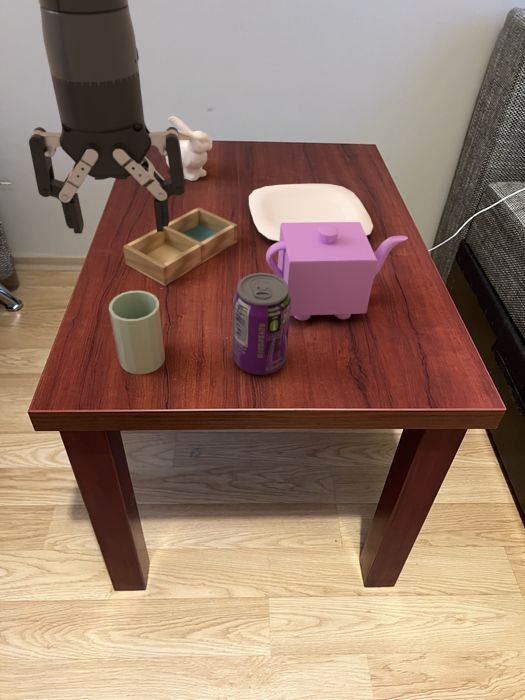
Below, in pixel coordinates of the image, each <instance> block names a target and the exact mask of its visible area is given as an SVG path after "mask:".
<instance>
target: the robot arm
mask: <svg viewBox="0 0 525 700" xmlns="http://www.w3.org/2000/svg"><path fill="white" fill-rule="evenodd" d="M38 4H39V11H40V18H41V31H42V39H43V44H44V49H45V52H46V53H45V55H46V59H47V62H48V68H49V72H50V77H51V82H52V86H53V91H54V95H55V100H56V101H55V102H56V105H57V110H58V115H59V119H60V124H61V132H47V130H46V129H45V128H43V127H42V126H38V127H36V128H34V130H33V132H32V134H31V136H30V137H29V140H28V146H29V151H30V156H31V161H32V167H33V170H34V176H35V182H36V187H37V192H38V194H39V195H40V196H41V197H43V198H49V197H52V198H56V199H58V201H60V204H61V207H62V211H63V216H64V220H65V224H66V226H67V227H68V229H73V233H74V234H75V235H76V234H77V235H78V234H79V235H80V234H83V232H84V228H85V223H84V218H83V217H84V216H83V212H82V209H81V203H80V198H79V194H78V193H79V192H77V191H78V189H79V188H81V186H82V184H83V182H84V181H85V179H86V178H87V177H88V176H89V177H91V178H94V180H95V181H102V180H107V179H110V178H111V179H116V180H128V178H129V177H131V176H132V177H133V179H135V180H136V182H138V183H139V185H140V186H141V187H143V188H146V190H148V191H149V192H150V194H152V196H153V208H154V209H153V210H154V218H155V227H156V228H155V229H157V232H164V226H168V225H169V222H170V216H171V215H170V205H169V198H171V196H174V195H177V196H182V194H184V193H185V187H186V186H185V179H184V172H183V164H182V156H181V149H180V141H179V133H178V130H179V129H178V128H177V127H176V126H170V127H168V128H166V130H165V131H164V130H163V131H152V132H151V131H150V130H149V129H148V127H147V125H146V121H145V115H144V114H145V113H144V106H143V96H142V87H141V77H140V69H139V68H140V67H139V60H140V56H139V51H138V48H137V41H136V34H135V29H134V25H133V21H132V16H131V12H130V6H129V0H38ZM152 146H153V147H155V148H157V150H158V152H159V154H160V155H161V156H163V157H166V156H168V162H169V167H168V168H169V175H170V177H169V178H166V179H165V178H164V177H163V176H162V175H161V174H160V172H158V170H156V168H155V165H154V164H153V163H152V161H151V160H150V159H148V158H147V154H148V153H149V151H150V149H151V147H152ZM59 147H60V148H61V149H62V150H63V151H64V153H65V154H67V156H69V157H70V159H71V160H72V161H73V162H74V163H73V165H72V166H71V168H70V170H69V172H68V173H67V176H66V177H65V178H64V180H63V181H62V180H59V179H56V178H55V177H56V176H55V171H54V166H53V159H52V158H53V157H54V156H55V154H56V152H57V148H59Z"/></svg>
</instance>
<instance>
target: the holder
mask: <svg viewBox="0 0 525 700" xmlns="http://www.w3.org/2000/svg"><path fill="white" fill-rule="evenodd" d="M236 243H238V224H237V223H235V222H233V221H231V220H228V219H226V218H224V217H221V216H219V215H217V214H214V213H213V212H211V211H209V210H206V209H204V208H201V207H196V208H194V209H192V210H190V211H188V212H187V213H184V214H182V215H181V216H179V217H176V218H175V219H172V220H170V221H169V225H168V226H164V232H157V228H155V229H153V230H151V231H150V232H148V233H146V234H144V235H142V236H140V237H138V238H136V239H135V240H132V241H131V242H129V243H126V244H124V245H123V246H122V250H123V255H124V262H125V263H124V264H125V265H126V266H128V267H130V268H131V269H133V270H135V271H136V272H139V273H140V274H142V275H144V276H146V277H148V278H149V279H152V280H153V281H155V282H156V283H158V284H160V285H162V286H164V287H166V286H168V285H169V284H171V283H173V282H175V281H176V280H177V279H179V278H181V277H183V276H184V275H186V274H187V273H189V272H190V271H192V270H194V269H196V268H197V267H198V266H201V265H202V264H204V263H205V262H207V261H208V260H210V259H212V258H214V257H215V256H216V255H218V254H221V253H222V252H223V251H225V250H226V249H228V248H229V247H231V246H233V245H235V244H236Z"/></svg>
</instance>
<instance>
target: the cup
mask: <svg viewBox="0 0 525 700" xmlns="http://www.w3.org/2000/svg"><path fill="white" fill-rule="evenodd" d="M108 313H109V318H110V323H111V328H112V334H113V338H114V343H115V348H116V354H117V359H118V361H119V366H120V367H121V368H122V369H123V370H124V371H125V372H127V373H130V374H133V375H147V374H150V373H153V372H155V371H157V370H159V369H160V368H161V367H162V366H163V364H164V363H165V360H166V349H165V348H166V347H165V339H164V331H163V321H162V314H161V313H162V312H161V303H160V300H159V299H158V297H157V296H156V295H155V294H153V293H151V292H149V291H145V290H129V291H125V292H122V293H120V294H118V295H116V296H115V297H113V299H112V300H111V301H110V302H109V305H108Z"/></svg>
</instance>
